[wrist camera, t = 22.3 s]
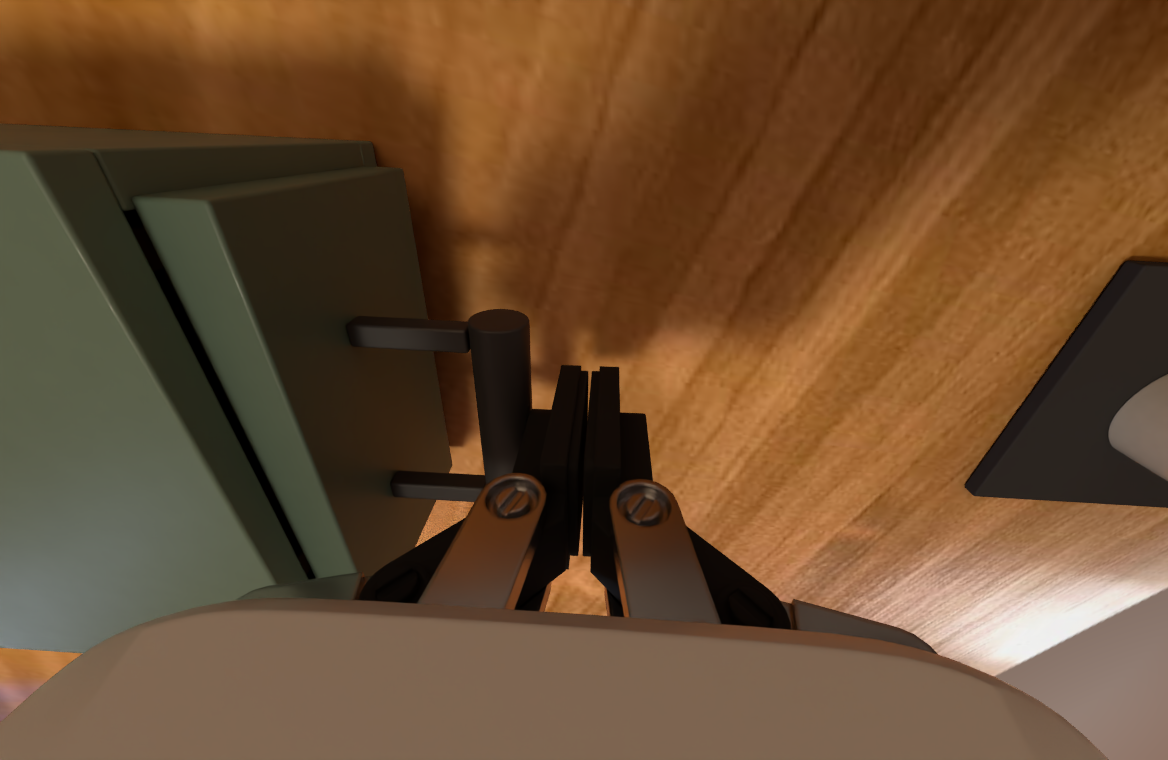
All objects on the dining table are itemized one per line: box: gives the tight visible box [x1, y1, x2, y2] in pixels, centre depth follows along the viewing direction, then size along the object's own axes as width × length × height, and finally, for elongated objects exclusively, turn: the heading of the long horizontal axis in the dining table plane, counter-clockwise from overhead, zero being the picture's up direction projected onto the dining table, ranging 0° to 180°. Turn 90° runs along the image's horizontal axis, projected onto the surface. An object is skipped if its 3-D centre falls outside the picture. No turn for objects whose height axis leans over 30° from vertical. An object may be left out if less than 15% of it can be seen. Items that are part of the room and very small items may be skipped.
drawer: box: [123, 166, 532, 578], centre depth 12 cm, size 18×11×7 cm, turn 88°
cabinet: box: [0, 124, 377, 653], centre depth 12 cm, size 15×13×9 cm
